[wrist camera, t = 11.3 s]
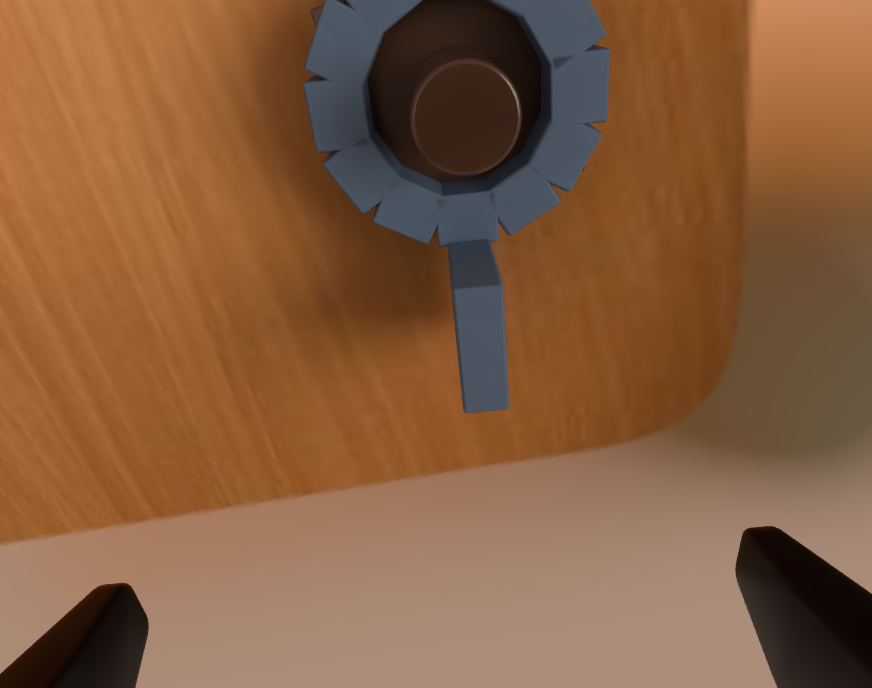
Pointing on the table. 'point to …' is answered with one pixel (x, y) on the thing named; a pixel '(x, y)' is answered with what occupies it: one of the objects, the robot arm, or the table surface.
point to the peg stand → (454, 88)
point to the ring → (465, 199)
